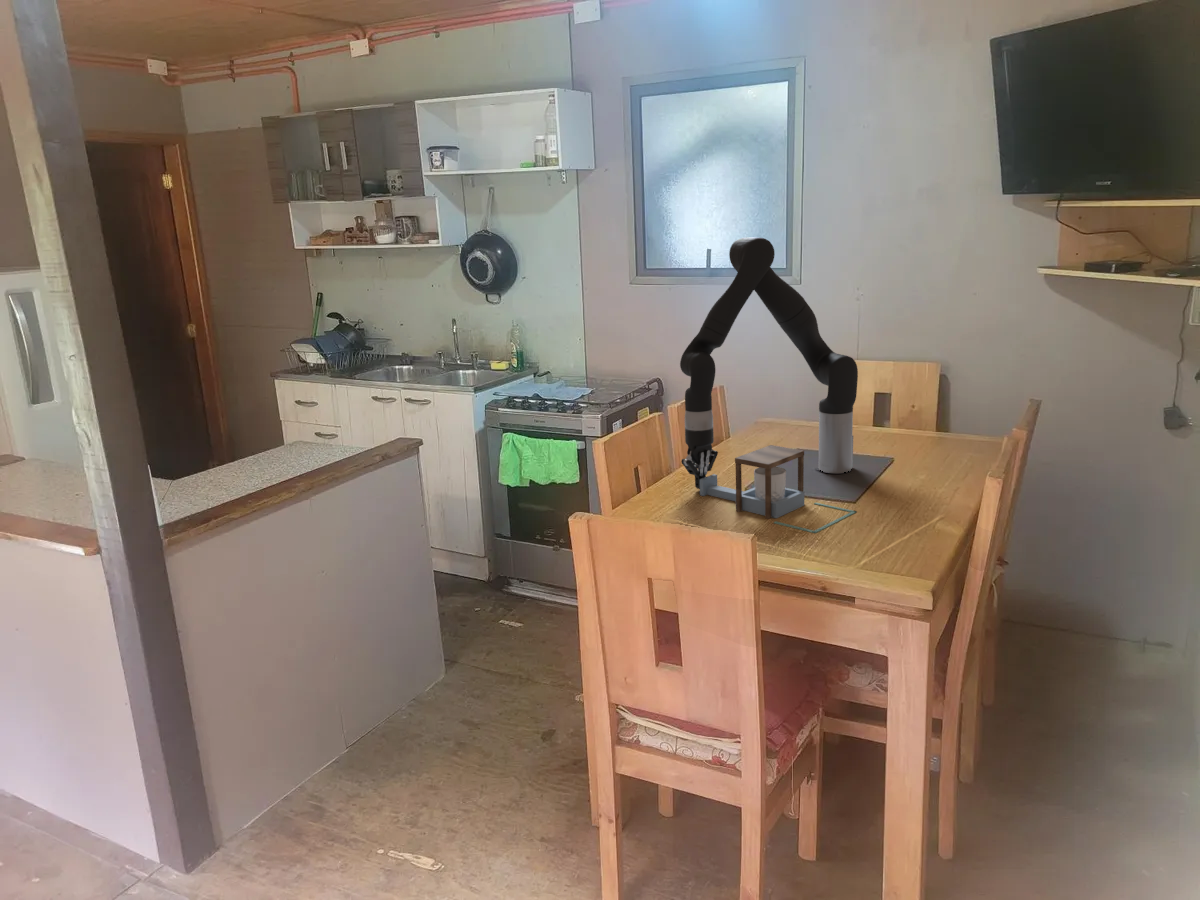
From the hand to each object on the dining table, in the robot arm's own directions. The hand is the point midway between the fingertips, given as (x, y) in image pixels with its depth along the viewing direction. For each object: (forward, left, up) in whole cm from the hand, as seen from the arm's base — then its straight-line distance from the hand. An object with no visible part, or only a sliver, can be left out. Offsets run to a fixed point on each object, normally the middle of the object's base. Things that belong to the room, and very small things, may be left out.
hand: (700, 488), depth 235 cm
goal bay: (0, +36, -1) cm, 36 cm away
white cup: (0, +23, -1) cm, 23 cm away
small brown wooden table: (0, +23, -1) cm, 23 cm away
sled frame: (0, +16, -1) cm, 16 cm away
